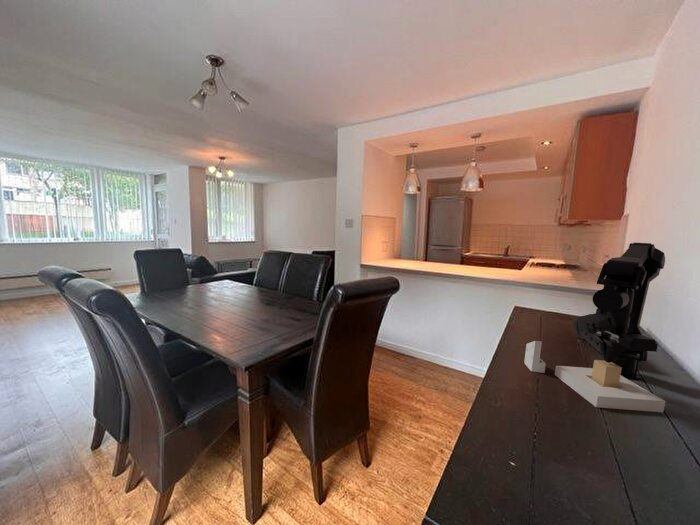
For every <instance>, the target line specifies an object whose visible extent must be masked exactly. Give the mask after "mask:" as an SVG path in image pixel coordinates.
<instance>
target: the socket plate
mask: <svg viewBox="0 0 700 525" xmlns="http://www.w3.org/2000/svg"><path fill="white" fill-rule="evenodd" d="M592 371H593V367H580V366H569V365H568V366H566V365H555V369H554V376H556V377H557V378H558V379H559V380H561V381H562V382H563V383H564V384H566V385H567V386H568V387H570V388H571V389H572V390H573V391H575V392H576V393H577V394H578V395H580V396H581V397H582V398H583V399H585V400H586V401H588V402H589V403H590V404H592V406H594V407H595V408H600V409H601V408H603V409H612V410H613V409H615V410H616V409H617V410H625V411H626V410H628V411H641V412H642V411H643V412H653V413H655V412H656V413H664V411H665V405H666V400H664V399H663V398H661V397H659V396H658V395H656V394H654V393H651V392H650V391H649V390H647V389H646V388H643V387H642V386H640V385H638V384H636V383H635V382H633V381H632V380H631V379H629V378H625V377H623V376H621V375H620V381H619V387H618V388H615V387H602V386H601V385H599V384H598V383H596V382H595V381H593V380H592V379H591V378H592Z"/></svg>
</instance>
